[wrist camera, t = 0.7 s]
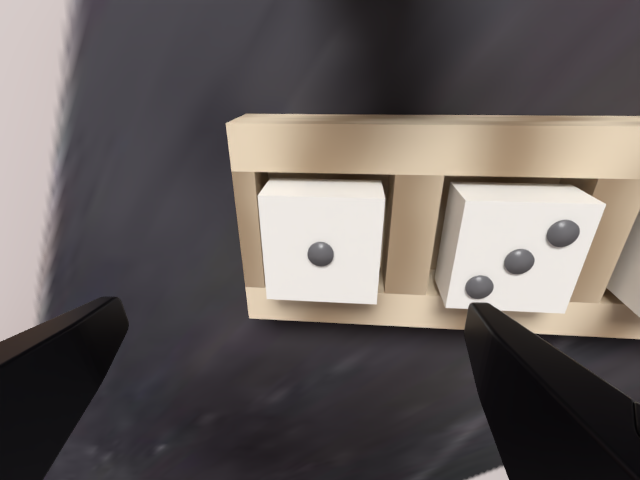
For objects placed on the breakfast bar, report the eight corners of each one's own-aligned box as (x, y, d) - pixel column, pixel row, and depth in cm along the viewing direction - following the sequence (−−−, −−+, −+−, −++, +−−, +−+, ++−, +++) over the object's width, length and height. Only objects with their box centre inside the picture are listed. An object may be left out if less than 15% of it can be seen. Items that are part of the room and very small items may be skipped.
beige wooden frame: (794, 116, 15) (888, 128, 12) (687, 306, 20) (739, 344, 17) (245, 113, 17) (225, 123, 14) (262, 286, 22) (249, 318, 19)
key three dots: (570, 184, 15) (608, 205, 13) (538, 282, 17) (566, 315, 15) (450, 181, 15) (466, 201, 13) (434, 278, 18) (445, 309, 15)
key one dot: (381, 180, 16) (385, 200, 13) (373, 275, 18) (376, 306, 16) (270, 178, 16) (256, 196, 14) (276, 271, 18) (265, 301, 16)
